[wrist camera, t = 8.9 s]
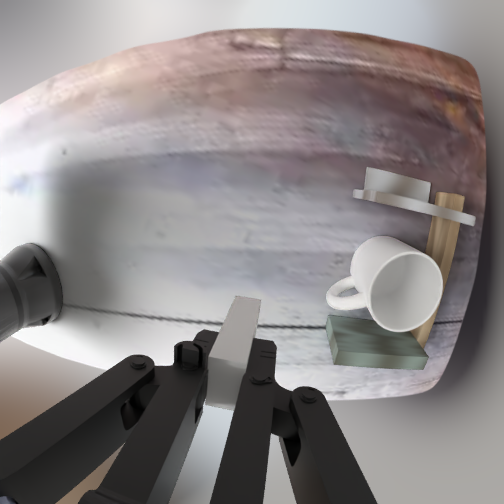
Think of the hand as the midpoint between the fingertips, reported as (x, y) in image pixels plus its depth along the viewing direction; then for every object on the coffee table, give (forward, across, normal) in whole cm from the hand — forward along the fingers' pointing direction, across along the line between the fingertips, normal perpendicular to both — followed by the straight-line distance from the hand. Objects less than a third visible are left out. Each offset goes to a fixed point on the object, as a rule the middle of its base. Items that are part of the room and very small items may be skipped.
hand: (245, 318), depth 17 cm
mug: (+20, +13, -1) cm, 24 cm away
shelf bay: (+19, +16, 0) cm, 25 cm away
